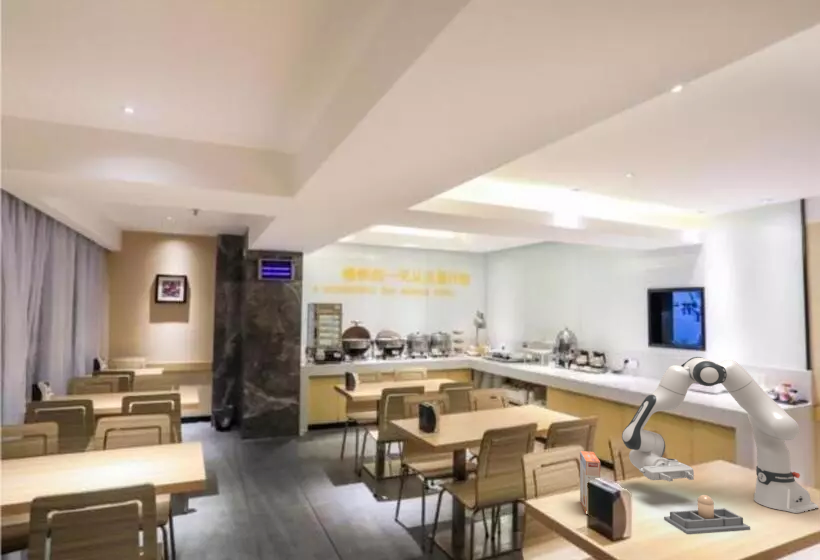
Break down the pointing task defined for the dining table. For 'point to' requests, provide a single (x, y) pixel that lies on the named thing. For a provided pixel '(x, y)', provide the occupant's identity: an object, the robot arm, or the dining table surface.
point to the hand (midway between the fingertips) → (681, 478)
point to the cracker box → (587, 473)
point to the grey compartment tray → (706, 521)
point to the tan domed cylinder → (705, 507)
